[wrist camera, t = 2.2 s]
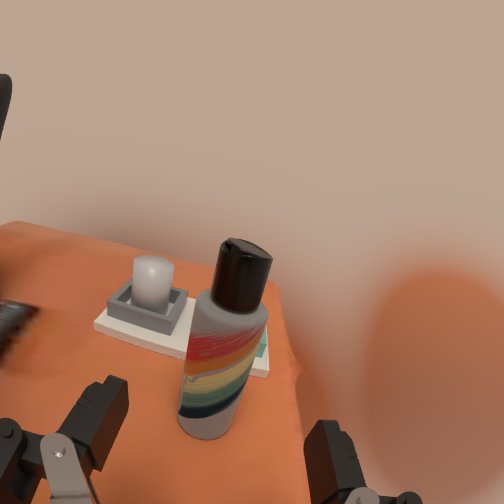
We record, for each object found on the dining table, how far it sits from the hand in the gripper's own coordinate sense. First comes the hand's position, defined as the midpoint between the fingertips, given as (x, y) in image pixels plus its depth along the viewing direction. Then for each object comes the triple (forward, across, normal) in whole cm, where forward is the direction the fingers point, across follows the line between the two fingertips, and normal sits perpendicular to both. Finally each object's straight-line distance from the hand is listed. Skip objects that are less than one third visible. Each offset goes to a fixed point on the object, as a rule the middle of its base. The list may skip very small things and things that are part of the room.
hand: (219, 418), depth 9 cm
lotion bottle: (+12, 0, +16) cm, 19 cm away
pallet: (+28, +6, +15) cm, 33 cm away
